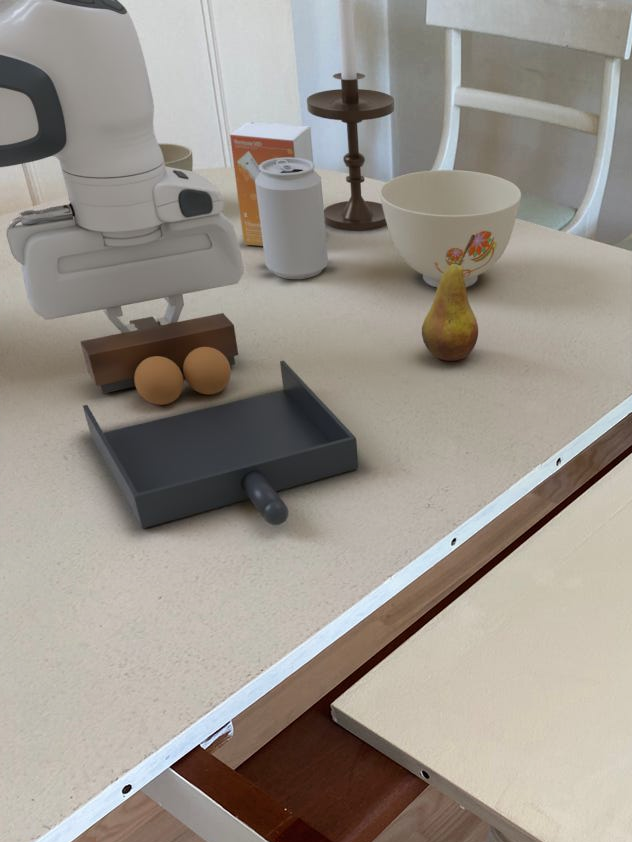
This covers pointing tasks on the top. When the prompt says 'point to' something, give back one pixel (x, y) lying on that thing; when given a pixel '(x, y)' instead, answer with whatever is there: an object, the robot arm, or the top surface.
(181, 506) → the dustpan
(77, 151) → the robot arm
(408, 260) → the bowl
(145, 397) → the ball left
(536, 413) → the top surface
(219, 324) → the brush
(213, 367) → the ball right
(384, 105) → the candlestick
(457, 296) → the fruit
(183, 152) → the flower pot
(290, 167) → the can
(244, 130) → the small box
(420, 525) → the top surface
